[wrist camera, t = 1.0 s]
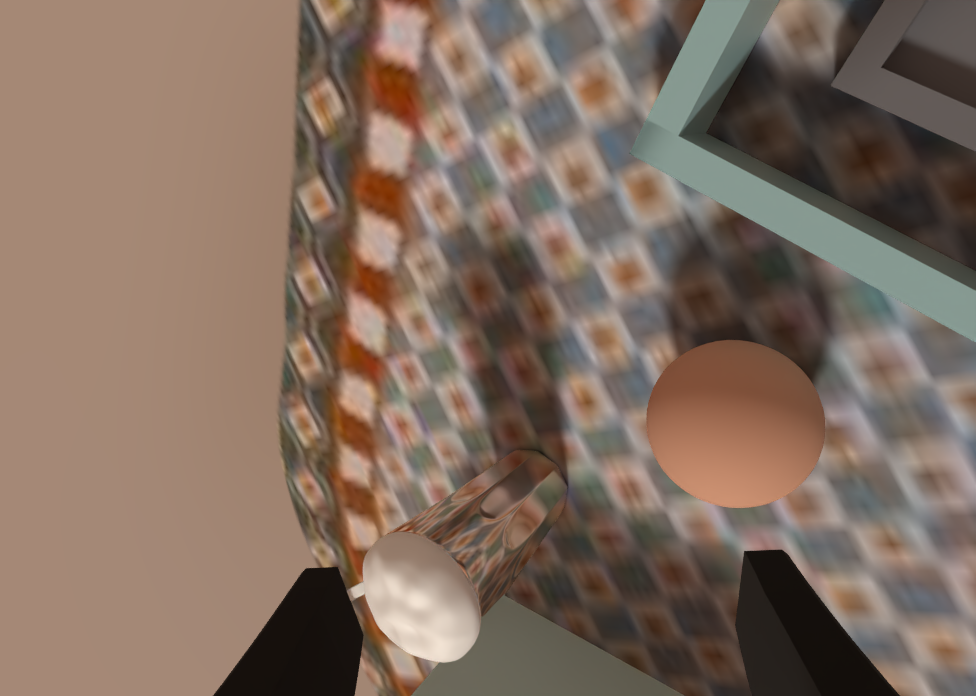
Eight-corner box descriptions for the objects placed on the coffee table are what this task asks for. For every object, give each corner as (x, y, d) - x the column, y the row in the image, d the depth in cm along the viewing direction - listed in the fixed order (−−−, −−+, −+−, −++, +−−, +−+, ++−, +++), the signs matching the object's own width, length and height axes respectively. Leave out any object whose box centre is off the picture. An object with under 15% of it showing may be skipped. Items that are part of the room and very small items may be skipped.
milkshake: (465, 429, 28) (292, 554, 20) (574, 436, 25) (422, 585, 17) (483, 520, 29) (326, 673, 21) (590, 537, 26) (453, 721, 18)
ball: (869, 379, 19) (860, 449, 15) (772, 489, 22) (742, 574, 18) (722, 291, 21) (678, 335, 17) (647, 404, 23) (594, 465, 19)
